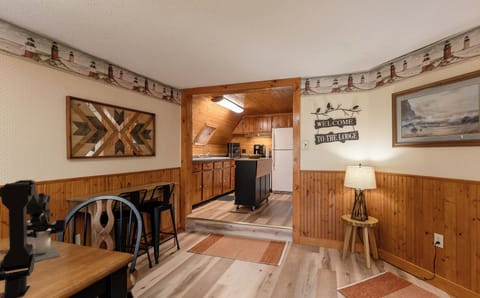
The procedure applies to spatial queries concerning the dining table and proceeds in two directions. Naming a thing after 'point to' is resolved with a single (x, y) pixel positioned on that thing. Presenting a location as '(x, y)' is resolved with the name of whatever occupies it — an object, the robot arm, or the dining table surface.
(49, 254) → the placemat
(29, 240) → the syrup box
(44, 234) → the candle jar
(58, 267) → the dining table surface
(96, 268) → the dining table surface
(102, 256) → the dining table surface
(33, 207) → the robot arm
